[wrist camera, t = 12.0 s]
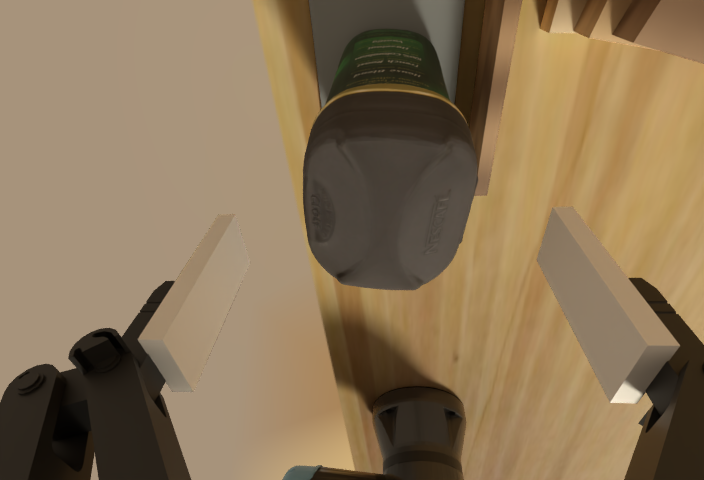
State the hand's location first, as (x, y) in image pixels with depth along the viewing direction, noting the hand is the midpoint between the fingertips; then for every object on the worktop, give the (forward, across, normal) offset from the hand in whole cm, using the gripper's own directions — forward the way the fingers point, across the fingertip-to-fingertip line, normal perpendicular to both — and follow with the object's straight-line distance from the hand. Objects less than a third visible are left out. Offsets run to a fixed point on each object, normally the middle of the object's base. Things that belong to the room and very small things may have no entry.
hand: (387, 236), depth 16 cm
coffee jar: (+19, 0, -1) cm, 19 cm away
